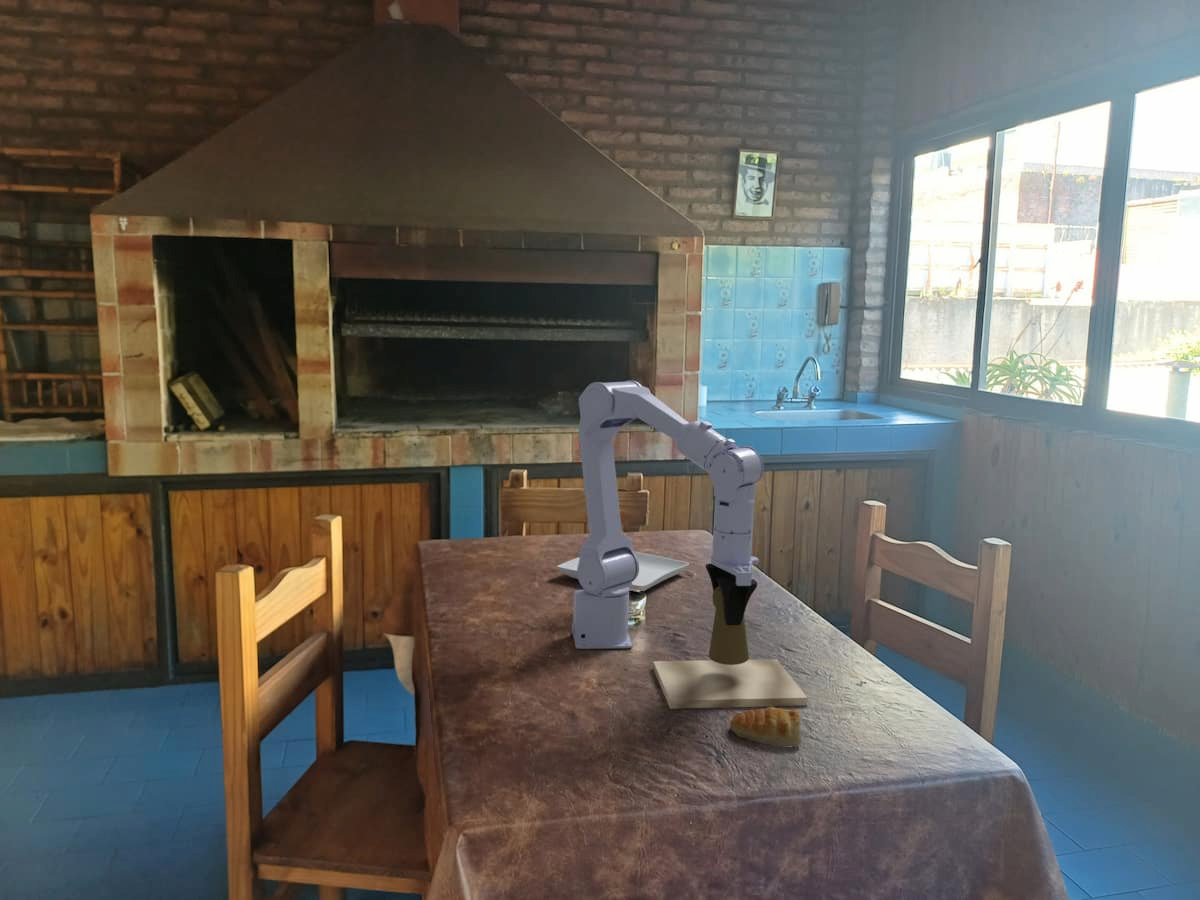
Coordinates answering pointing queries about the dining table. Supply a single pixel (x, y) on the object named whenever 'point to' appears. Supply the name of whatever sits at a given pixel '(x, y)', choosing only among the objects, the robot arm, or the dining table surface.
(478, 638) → the dining table surface
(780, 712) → the pastry
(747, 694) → the birch board
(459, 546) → the dining table surface
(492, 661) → the dining table surface
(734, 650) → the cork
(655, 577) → the salad plate
